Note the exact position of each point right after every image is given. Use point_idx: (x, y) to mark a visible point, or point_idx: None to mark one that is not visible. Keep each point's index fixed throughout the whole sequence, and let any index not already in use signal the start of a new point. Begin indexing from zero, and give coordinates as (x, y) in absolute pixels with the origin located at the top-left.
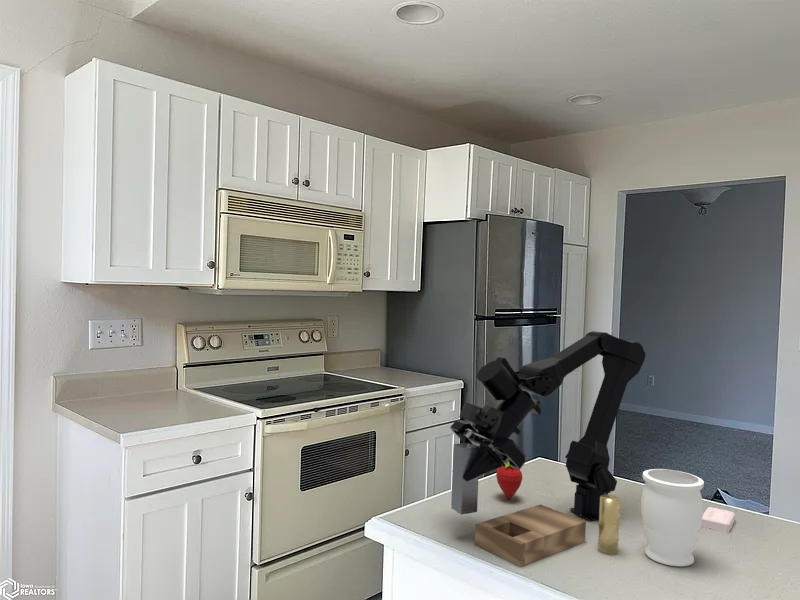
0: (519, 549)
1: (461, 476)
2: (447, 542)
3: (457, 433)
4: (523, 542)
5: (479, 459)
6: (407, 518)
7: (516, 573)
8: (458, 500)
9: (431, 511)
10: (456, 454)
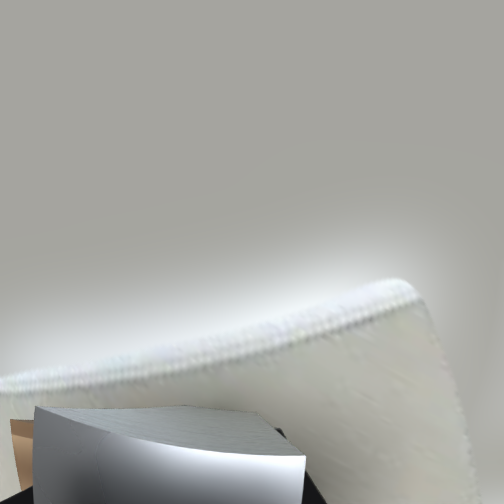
0: (22, 420)
1: (157, 410)
2: (218, 376)
3: None
4: (15, 432)
5: (26, 492)
6: (401, 360)
7: (29, 390)
8: (201, 409)
9: (417, 441)
10: (215, 434)
